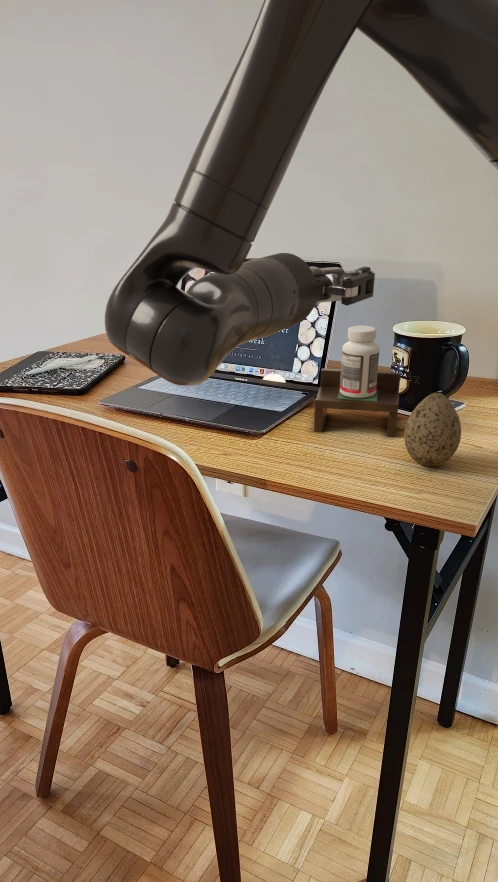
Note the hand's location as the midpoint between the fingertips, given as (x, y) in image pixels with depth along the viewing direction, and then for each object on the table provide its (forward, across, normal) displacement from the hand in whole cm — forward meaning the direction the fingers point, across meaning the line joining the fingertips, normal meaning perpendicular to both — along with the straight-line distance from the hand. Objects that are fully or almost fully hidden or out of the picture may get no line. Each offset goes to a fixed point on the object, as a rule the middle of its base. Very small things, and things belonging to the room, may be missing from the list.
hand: (333, 273), depth 82 cm
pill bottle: (+16, +2, +20) cm, 26 cm away
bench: (+16, +2, +25) cm, 30 cm away
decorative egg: (+8, -12, +25) cm, 29 cm away
